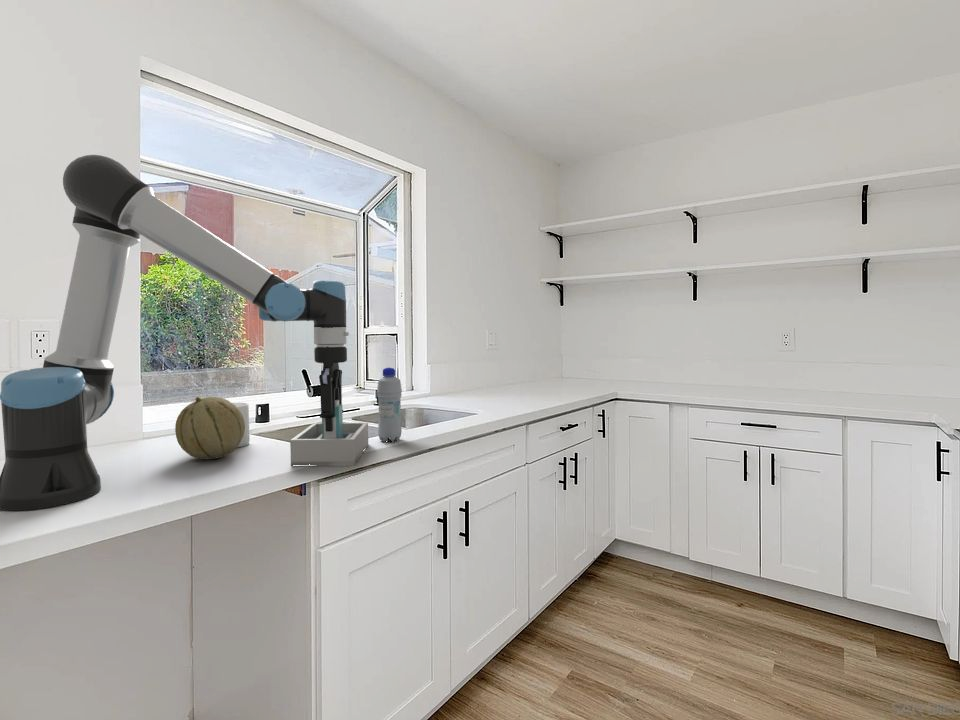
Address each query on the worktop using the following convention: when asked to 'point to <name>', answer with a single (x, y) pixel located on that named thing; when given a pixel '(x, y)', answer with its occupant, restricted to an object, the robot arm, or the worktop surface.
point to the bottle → (389, 406)
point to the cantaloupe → (209, 428)
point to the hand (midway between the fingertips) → (332, 441)
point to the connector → (338, 421)
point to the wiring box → (329, 446)
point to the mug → (245, 412)
